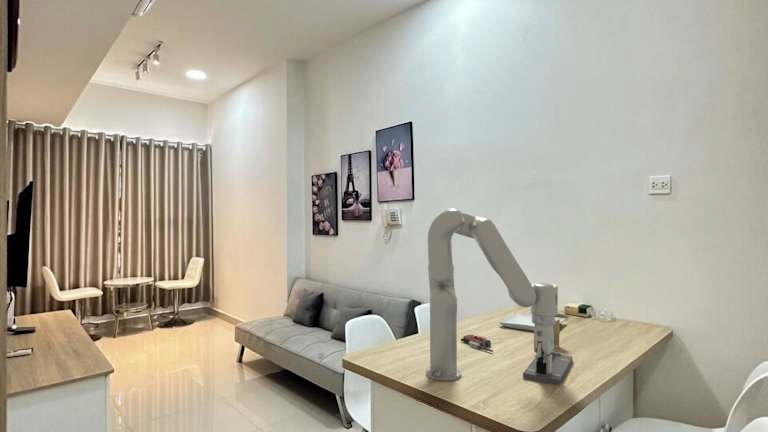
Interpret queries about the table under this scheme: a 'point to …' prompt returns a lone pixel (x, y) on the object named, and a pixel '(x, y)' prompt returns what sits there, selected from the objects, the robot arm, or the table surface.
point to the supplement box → (555, 299)
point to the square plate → (521, 321)
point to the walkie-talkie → (477, 342)
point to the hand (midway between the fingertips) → (543, 370)
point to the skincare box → (556, 333)
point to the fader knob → (548, 363)
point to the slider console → (558, 370)
